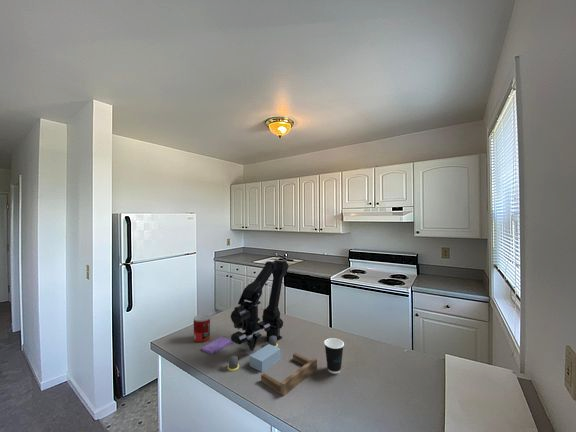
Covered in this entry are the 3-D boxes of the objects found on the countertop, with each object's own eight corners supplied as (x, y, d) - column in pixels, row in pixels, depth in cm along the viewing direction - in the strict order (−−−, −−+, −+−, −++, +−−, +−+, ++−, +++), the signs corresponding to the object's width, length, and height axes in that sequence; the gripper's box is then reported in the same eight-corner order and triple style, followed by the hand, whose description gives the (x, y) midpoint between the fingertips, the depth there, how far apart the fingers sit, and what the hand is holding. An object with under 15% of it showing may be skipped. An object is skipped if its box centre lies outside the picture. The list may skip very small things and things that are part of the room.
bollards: (272, 342, 124) (272, 334, 124) (279, 345, 121) (279, 337, 121) (225, 368, 103) (225, 358, 103) (232, 372, 100) (232, 362, 100)
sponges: (201, 351, 117) (201, 347, 117) (221, 339, 128) (221, 336, 128) (212, 355, 114) (212, 351, 114) (231, 343, 125) (231, 339, 125)
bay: (295, 358, 110) (295, 349, 110) (317, 369, 102) (317, 359, 102) (261, 381, 95) (261, 370, 95) (283, 395, 87) (283, 384, 87)
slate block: (268, 353, 115) (268, 343, 115) (280, 359, 110) (280, 348, 110) (249, 366, 105) (249, 355, 105) (262, 372, 101) (262, 361, 101)
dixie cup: (339, 378, 96) (339, 350, 96) (320, 371, 101) (320, 344, 101) (347, 368, 103) (347, 341, 103) (329, 362, 107) (329, 336, 107)
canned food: (205, 343, 124) (205, 320, 124) (190, 341, 125) (190, 319, 125) (212, 336, 131) (212, 314, 131) (198, 334, 133) (198, 313, 133)
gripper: (255, 306, 126) (255, 337, 126) (223, 317, 112) (223, 353, 112) (271, 311, 119) (271, 345, 119) (239, 324, 105) (239, 362, 105)
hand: (251, 350), depth 114 cm, fingers closed
